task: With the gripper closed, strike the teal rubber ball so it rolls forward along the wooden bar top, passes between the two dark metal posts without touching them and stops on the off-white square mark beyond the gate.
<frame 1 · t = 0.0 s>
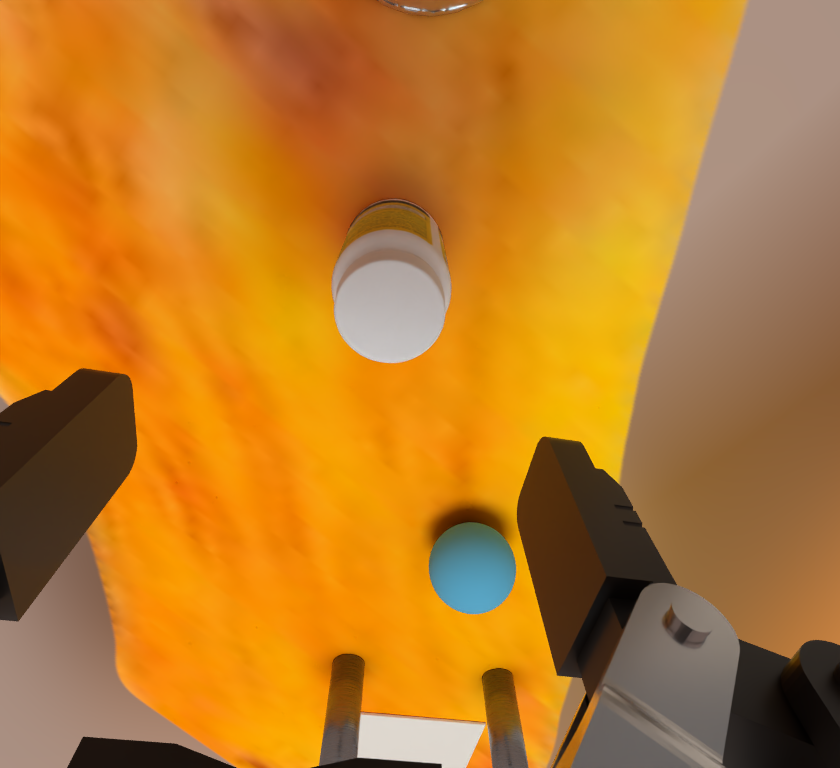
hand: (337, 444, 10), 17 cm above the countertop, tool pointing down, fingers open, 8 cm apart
ball: (472, 566, 33), on the countertop
supplement bottle: (395, 246, 26), on the countertop
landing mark: (397, 755, 50), on the countertop
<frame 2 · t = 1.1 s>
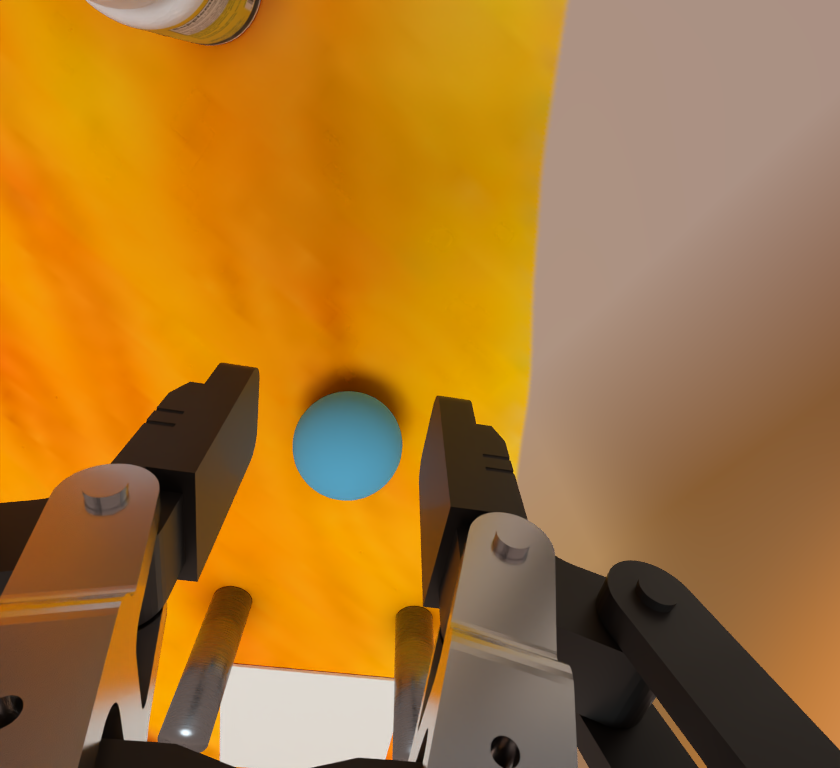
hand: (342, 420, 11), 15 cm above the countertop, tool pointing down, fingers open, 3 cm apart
ball: (348, 445, 27), on the countertop
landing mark: (308, 723, 43), on the countertop
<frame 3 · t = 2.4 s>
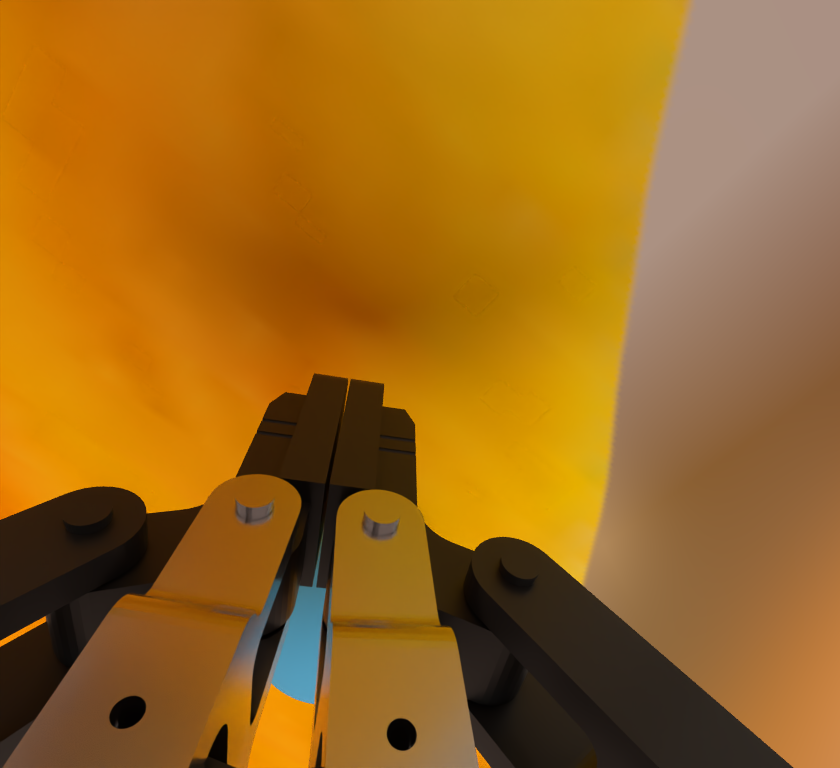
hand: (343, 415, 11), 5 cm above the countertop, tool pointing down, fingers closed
ball: (332, 607, 17), on the countertop
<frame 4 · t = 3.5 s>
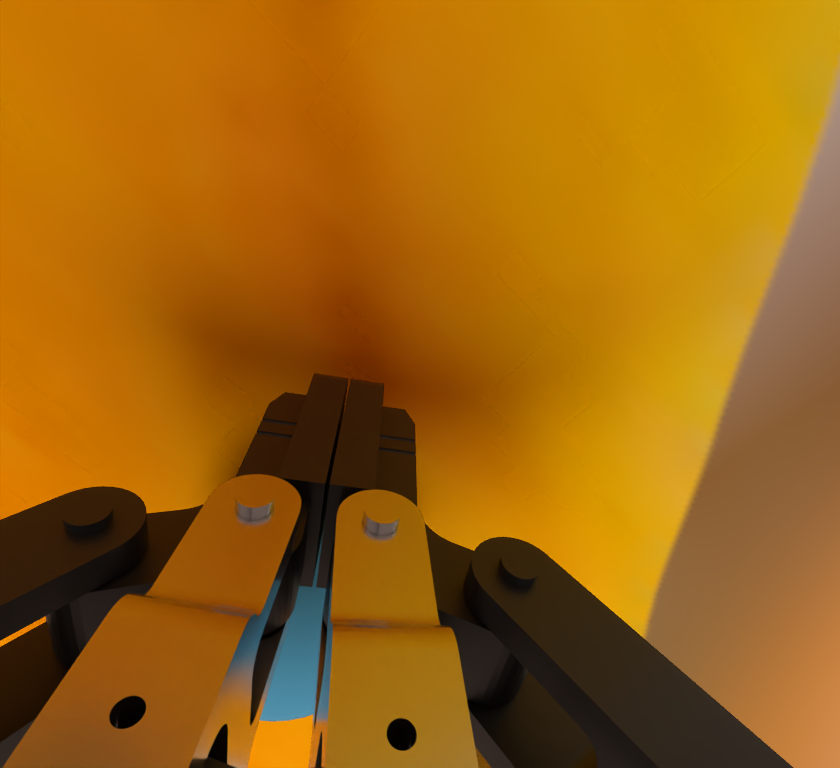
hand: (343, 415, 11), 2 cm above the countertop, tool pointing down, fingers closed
ball: (290, 586, 13), on the countertop
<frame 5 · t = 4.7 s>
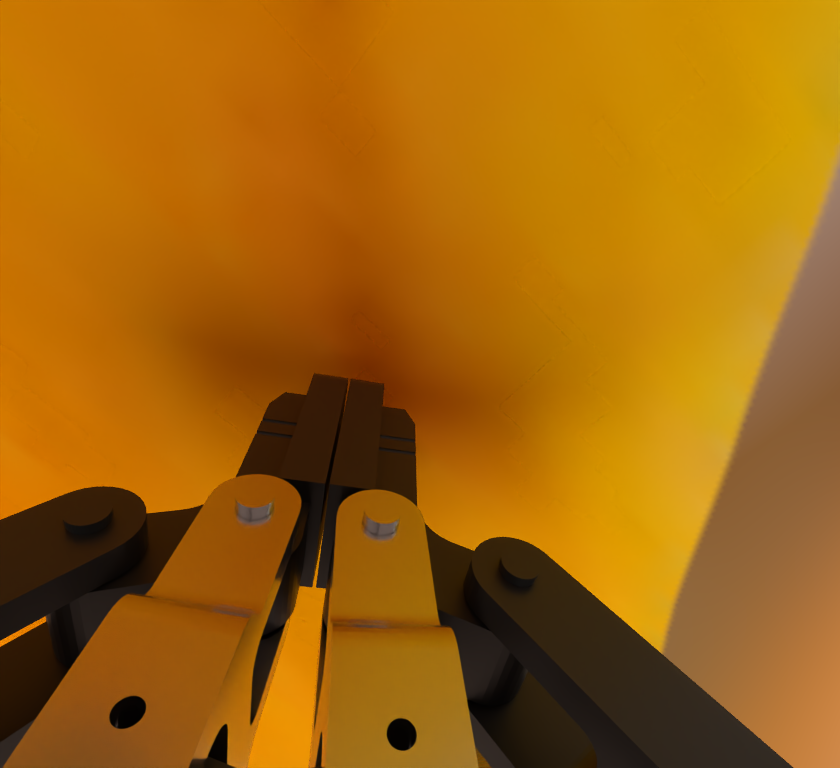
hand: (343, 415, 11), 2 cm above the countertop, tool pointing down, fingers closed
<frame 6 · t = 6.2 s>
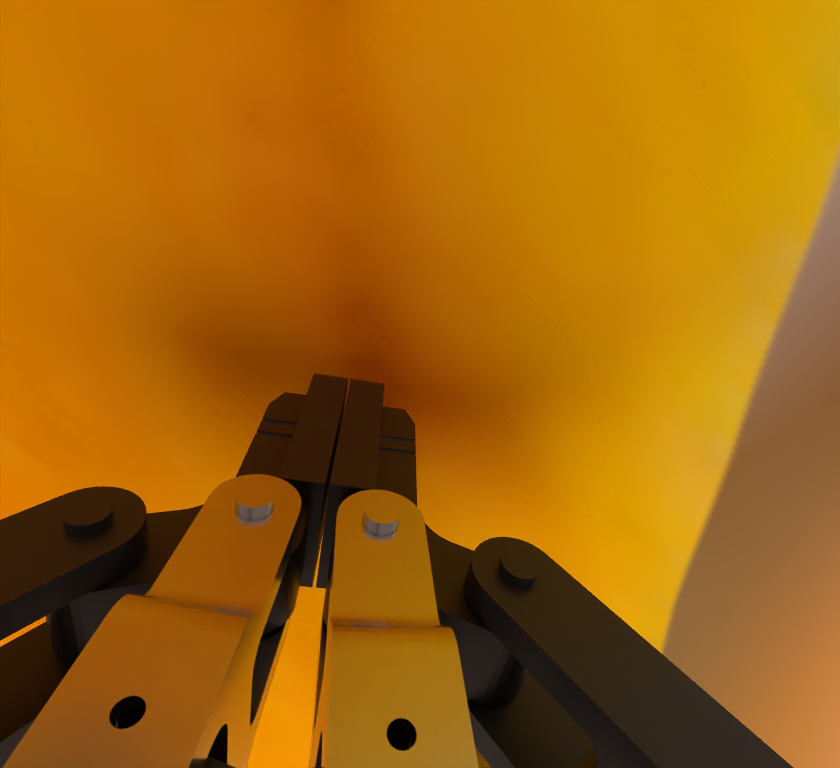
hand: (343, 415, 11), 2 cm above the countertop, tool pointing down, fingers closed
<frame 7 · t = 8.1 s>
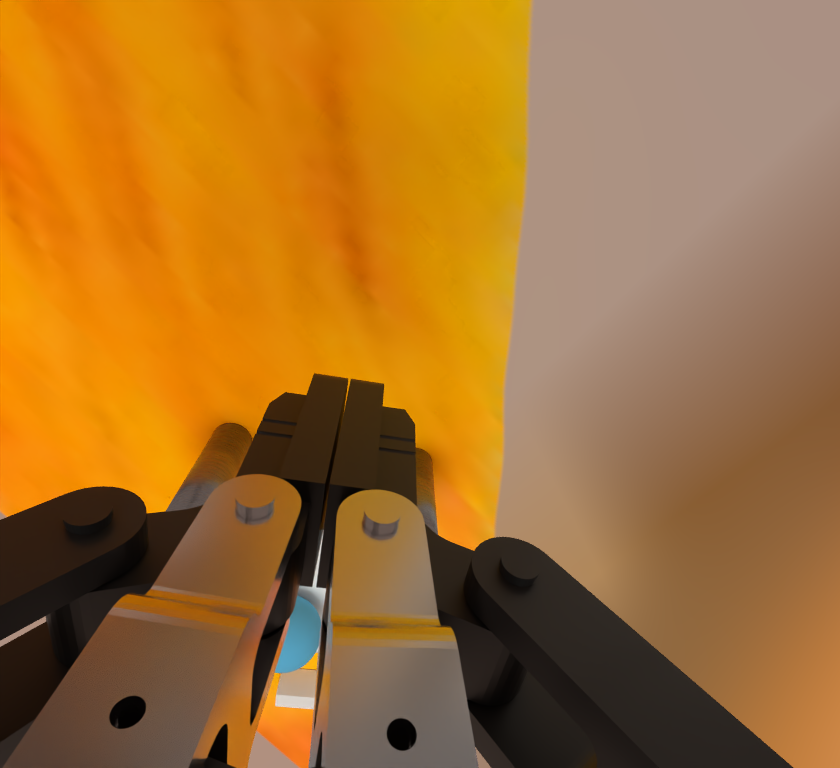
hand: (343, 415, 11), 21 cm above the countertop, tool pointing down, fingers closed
stopper wall: (331, 677, 48), on the countertop
ball: (286, 632, 41), on the countertop
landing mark: (308, 592, 43), on the countertop
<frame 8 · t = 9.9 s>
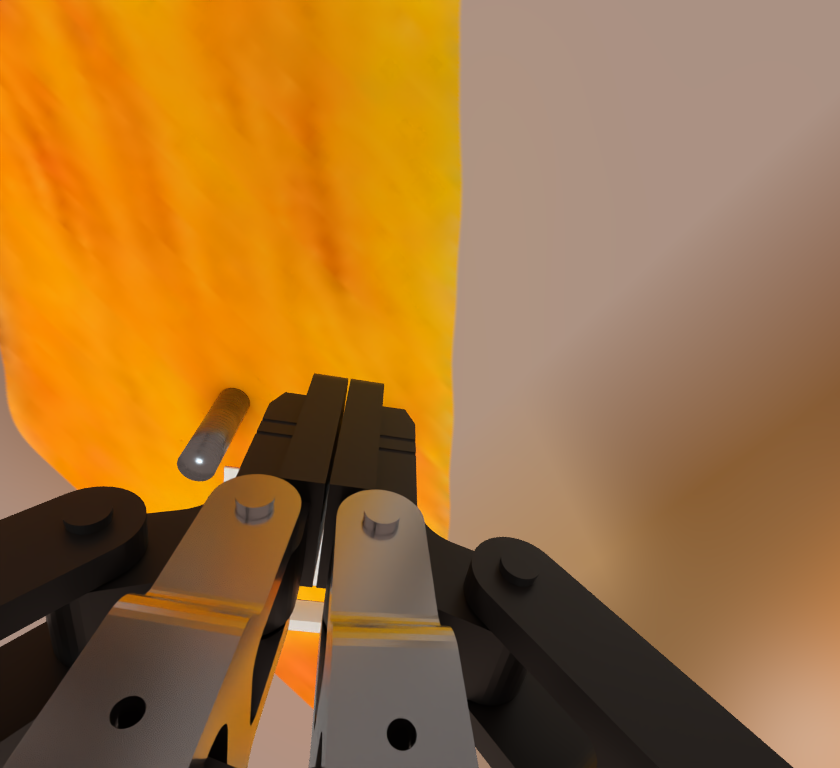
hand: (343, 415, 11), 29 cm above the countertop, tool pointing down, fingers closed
stopper wall: (317, 606, 57), on the countertop
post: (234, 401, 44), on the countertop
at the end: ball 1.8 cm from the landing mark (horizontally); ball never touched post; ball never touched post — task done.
